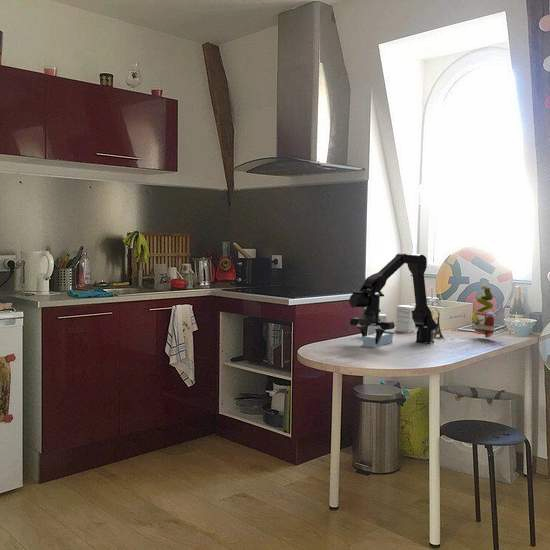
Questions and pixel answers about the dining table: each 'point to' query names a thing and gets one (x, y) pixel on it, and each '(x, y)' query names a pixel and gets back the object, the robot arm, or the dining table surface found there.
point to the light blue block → (370, 341)
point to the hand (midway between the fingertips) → (370, 343)
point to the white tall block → (405, 319)
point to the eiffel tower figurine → (438, 332)
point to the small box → (372, 328)
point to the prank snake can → (484, 314)
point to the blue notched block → (385, 337)
